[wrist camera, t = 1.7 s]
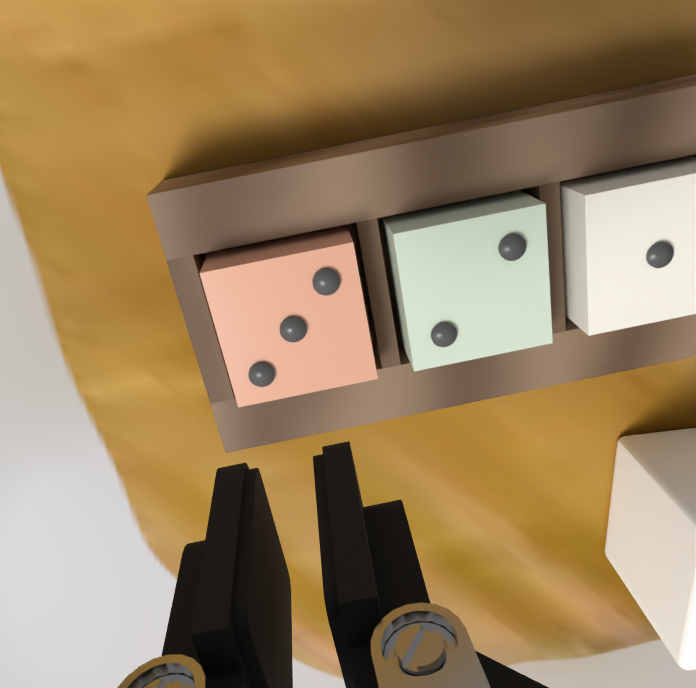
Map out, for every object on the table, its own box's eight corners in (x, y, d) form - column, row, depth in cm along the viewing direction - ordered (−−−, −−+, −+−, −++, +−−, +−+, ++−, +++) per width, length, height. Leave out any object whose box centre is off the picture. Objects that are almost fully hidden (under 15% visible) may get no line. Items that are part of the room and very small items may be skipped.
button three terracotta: (346, 225, 23) (353, 243, 20) (369, 350, 25) (378, 380, 22) (207, 253, 22) (199, 274, 20) (242, 377, 25) (238, 409, 22)
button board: (696, 73, 23) (751, 74, 21) (686, 321, 28) (730, 349, 25) (162, 180, 23) (146, 195, 20) (231, 414, 27) (225, 452, 25)
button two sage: (519, 190, 23) (546, 204, 20) (528, 318, 25) (553, 344, 22) (382, 218, 23) (393, 235, 20) (402, 344, 25) (414, 373, 22)
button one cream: (692, 155, 23) (738, 165, 20) (686, 286, 25) (728, 308, 22) (555, 183, 23) (586, 196, 20) (561, 311, 25) (590, 337, 22)
